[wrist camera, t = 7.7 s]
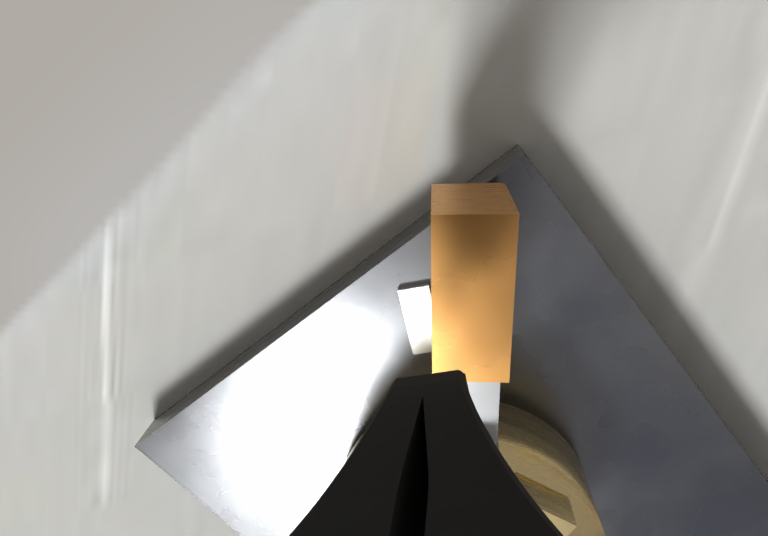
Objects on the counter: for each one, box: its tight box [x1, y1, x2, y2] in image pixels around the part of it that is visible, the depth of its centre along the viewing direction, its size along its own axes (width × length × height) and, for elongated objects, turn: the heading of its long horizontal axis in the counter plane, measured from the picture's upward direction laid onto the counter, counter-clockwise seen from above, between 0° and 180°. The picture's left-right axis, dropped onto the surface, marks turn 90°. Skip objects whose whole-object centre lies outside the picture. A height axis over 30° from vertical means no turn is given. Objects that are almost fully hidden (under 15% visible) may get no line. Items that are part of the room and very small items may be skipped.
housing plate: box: [135, 144, 768, 536], centre depth 21 cm, size 18×18×2 cm
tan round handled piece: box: [346, 183, 605, 536], centre depth 16 cm, size 16×9×4 cm, turn 3°
